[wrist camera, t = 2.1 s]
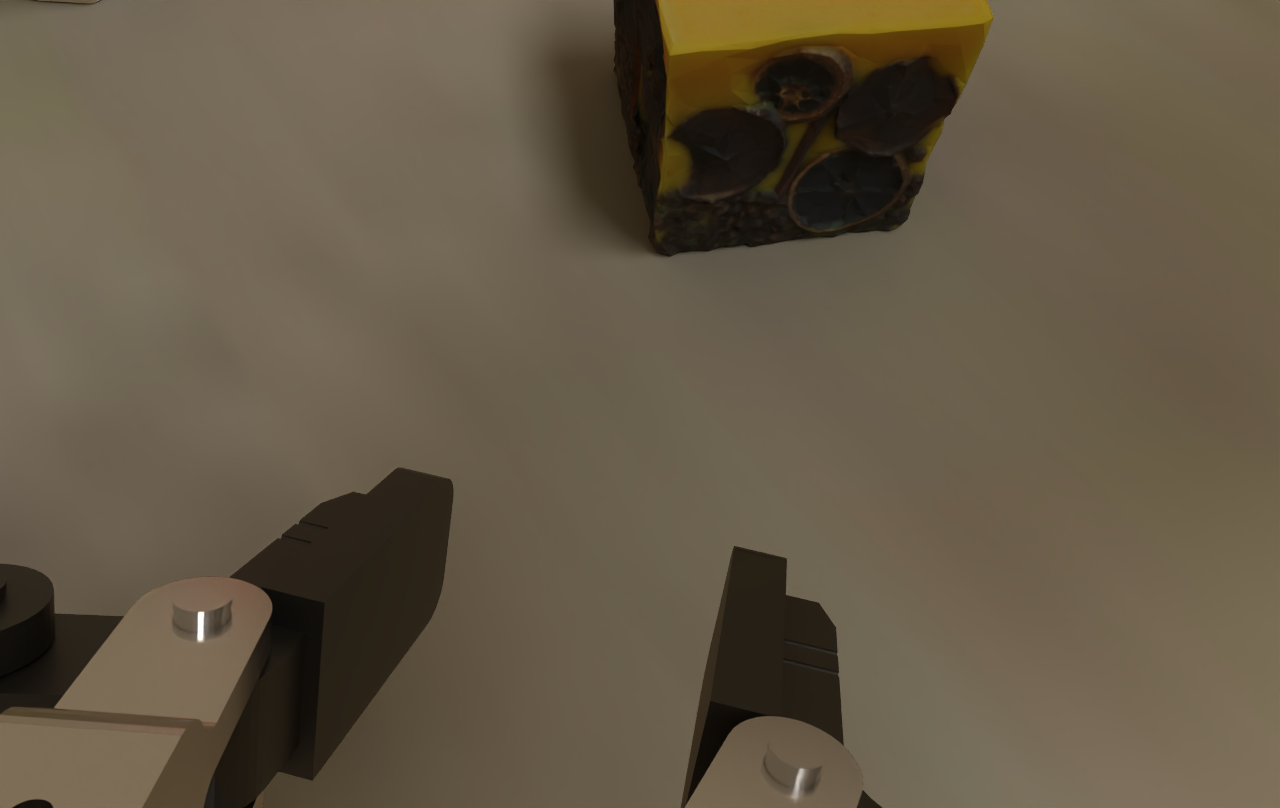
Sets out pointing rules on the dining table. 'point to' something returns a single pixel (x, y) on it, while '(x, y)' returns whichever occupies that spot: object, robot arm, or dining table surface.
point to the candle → (787, 111)
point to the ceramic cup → (74, 1)
